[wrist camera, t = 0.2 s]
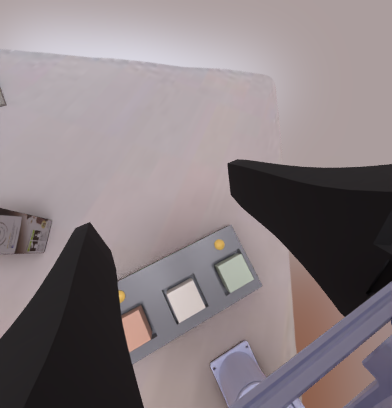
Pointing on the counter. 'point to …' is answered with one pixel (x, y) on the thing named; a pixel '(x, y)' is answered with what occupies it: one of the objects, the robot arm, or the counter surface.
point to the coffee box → (22, 233)
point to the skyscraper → (2, 99)
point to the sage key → (234, 272)
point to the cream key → (185, 300)
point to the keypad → (177, 273)
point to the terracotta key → (136, 328)
